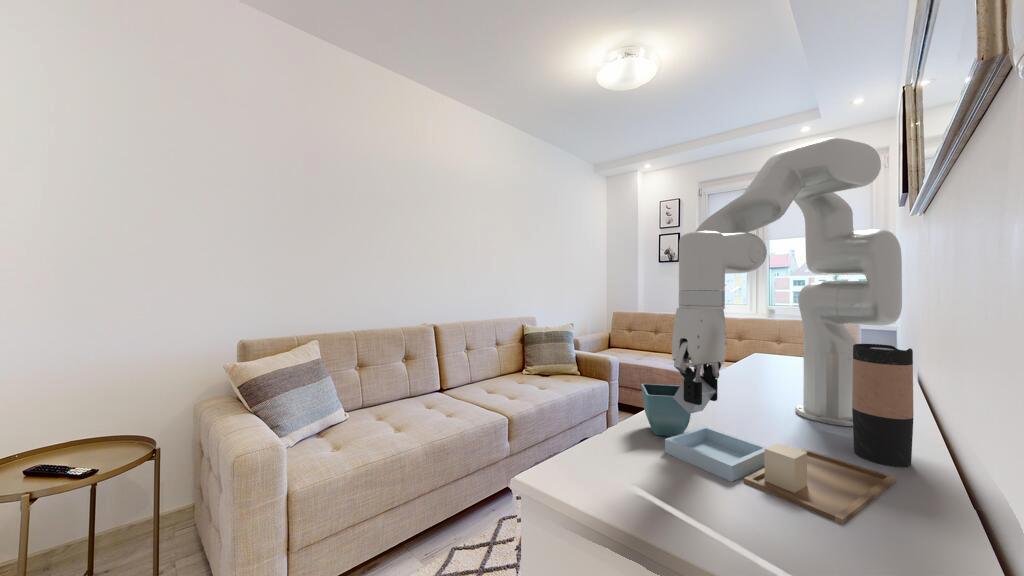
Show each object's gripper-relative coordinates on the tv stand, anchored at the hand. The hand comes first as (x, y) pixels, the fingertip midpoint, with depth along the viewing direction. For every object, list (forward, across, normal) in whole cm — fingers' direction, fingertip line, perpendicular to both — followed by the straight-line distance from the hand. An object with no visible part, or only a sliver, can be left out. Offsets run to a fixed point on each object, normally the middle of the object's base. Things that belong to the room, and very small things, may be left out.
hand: (700, 400), depth 69 cm
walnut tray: (+10, -6, +16) cm, 20 cm away
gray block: (+1, 0, -2) cm, 3 cm away
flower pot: (+10, -4, -10) cm, 15 cm away
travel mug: (+10, -25, +18) cm, 32 cm away
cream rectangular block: (+9, -1, +13) cm, 16 cm away
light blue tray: (+10, 0, +3) cm, 10 cm away
